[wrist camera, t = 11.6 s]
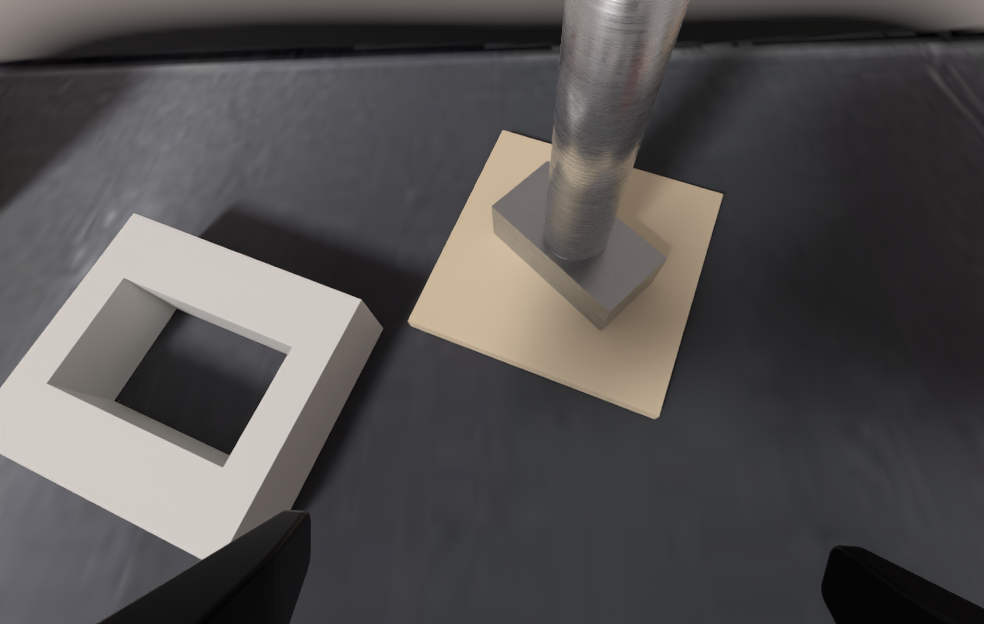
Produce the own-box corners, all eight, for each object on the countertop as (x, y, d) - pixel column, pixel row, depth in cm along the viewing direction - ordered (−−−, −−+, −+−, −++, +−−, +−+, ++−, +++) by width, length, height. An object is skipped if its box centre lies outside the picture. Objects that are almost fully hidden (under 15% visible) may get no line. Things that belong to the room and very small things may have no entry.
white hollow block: (383, 328, 20) (361, 299, 17) (266, 557, 17) (216, 567, 14) (183, 250, 22) (133, 213, 19) (46, 445, 19) (-36, 435, 16)
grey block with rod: (652, 281, 19) (924, -172, 6) (600, 331, 19) (785, -61, 6) (544, 190, 21) (587, -307, 8) (493, 233, 21) (452, -234, 8)
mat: (717, 202, 21) (723, 194, 21) (654, 419, 18) (658, 416, 18) (503, 138, 23) (502, 129, 23) (410, 326, 20) (407, 320, 19)
